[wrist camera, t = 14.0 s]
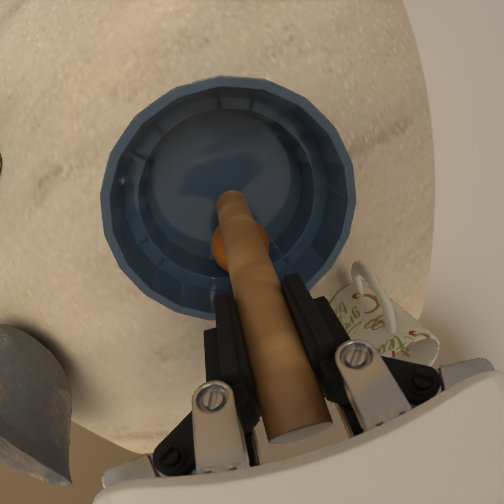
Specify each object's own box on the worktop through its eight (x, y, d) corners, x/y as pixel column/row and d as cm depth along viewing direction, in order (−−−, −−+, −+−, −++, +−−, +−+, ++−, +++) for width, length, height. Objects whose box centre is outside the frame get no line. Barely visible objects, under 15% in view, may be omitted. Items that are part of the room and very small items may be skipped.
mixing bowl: (297, 74, 16) (333, 59, 11) (327, 245, 23) (360, 282, 18) (104, 128, 16) (66, 134, 11) (167, 291, 23) (161, 341, 17)
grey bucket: (-30, 266, 17) (-99, 353, 4) (95, 320, 23) (54, 460, 10) (-4, 363, 24) (-35, 439, 10) (95, 406, 29) (82, 497, 16)
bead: (275, 242, 16) (276, 278, 19) (260, 199, 19) (263, 237, 22) (208, 256, 16) (220, 290, 19) (202, 210, 18) (213, 247, 22)
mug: (327, 345, 29) (362, 415, 20) (290, 262, 23) (338, 346, 14) (388, 311, 29) (435, 370, 20) (372, 220, 23) (447, 278, 14)
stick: (243, 186, 17) (336, 416, 6) (249, 213, 18) (330, 430, 7) (212, 194, 17) (264, 438, 6) (219, 221, 18) (272, 447, 7)
